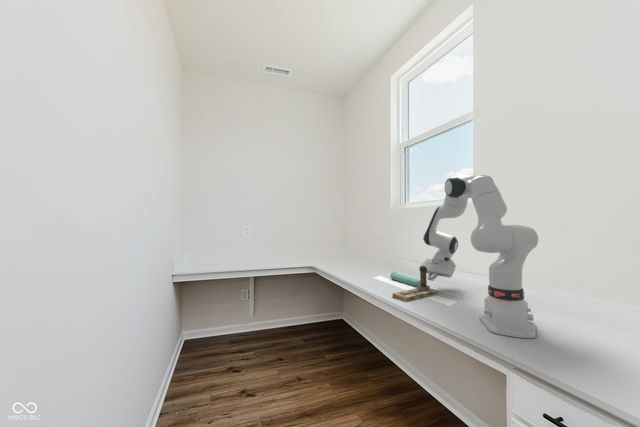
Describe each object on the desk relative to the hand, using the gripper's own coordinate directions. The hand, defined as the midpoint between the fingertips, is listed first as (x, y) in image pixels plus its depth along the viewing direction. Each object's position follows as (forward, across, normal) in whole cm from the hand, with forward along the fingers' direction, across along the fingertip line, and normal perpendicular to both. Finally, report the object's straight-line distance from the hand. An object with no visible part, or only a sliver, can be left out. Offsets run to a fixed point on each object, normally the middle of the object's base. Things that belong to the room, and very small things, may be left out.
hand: (430, 279), depth 159 cm
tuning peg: (+7, +2, -1) cm, 8 cm away
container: (+1, -24, +10) cm, 26 cm away
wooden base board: (+14, 0, -4) cm, 15 cm away
